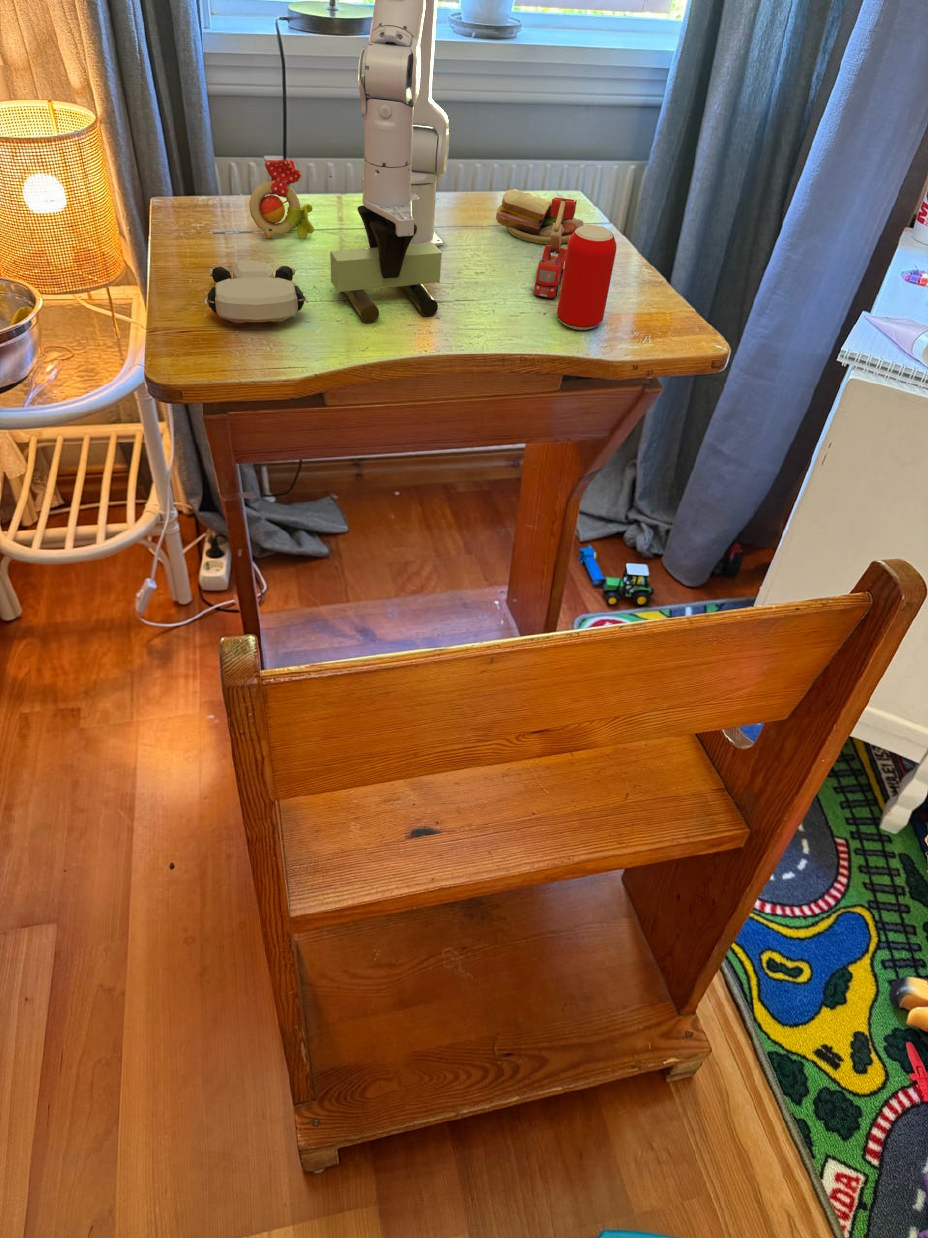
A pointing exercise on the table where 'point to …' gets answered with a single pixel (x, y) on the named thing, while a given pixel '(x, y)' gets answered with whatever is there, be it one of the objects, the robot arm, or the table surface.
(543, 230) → the toy sandwich meal
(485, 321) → the table surface
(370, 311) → the walnut rod
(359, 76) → the robot arm
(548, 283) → the toy fire truck
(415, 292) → the black rod
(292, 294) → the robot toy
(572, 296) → the beverage can
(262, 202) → the bird rattle
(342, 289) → the bar
